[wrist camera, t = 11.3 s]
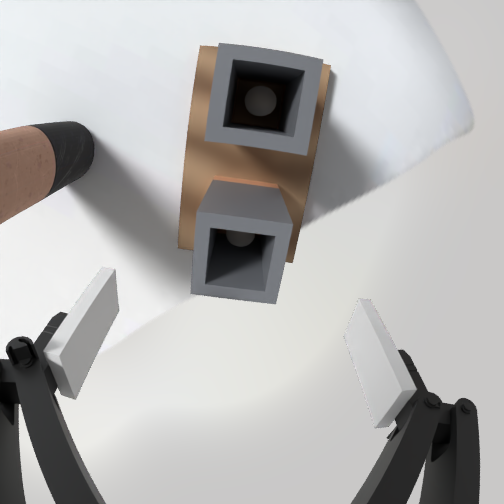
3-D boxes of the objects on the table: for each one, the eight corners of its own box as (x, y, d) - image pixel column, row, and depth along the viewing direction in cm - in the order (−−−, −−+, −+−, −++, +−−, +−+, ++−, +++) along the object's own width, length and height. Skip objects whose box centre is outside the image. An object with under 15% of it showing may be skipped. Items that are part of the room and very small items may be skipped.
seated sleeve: (229, 69, 26) (219, 42, 16) (295, 79, 27) (323, 59, 16) (220, 130, 29) (204, 141, 18) (285, 139, 30) (306, 155, 19)
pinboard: (201, 47, 26) (187, 28, 19) (327, 66, 27) (352, 54, 20) (179, 243, 36) (163, 279, 28) (291, 258, 36) (301, 297, 29)
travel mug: (108, 140, 30) (-23, 185, 12) (78, 194, 33) (-37, 275, 14) (62, 107, 28) (-73, 129, 10) (37, 161, 30) (-85, 217, 12)
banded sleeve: (214, 175, 31) (196, 211, 20) (277, 184, 32) (293, 224, 21) (208, 233, 34) (190, 293, 23) (267, 241, 34) (275, 304, 23)
